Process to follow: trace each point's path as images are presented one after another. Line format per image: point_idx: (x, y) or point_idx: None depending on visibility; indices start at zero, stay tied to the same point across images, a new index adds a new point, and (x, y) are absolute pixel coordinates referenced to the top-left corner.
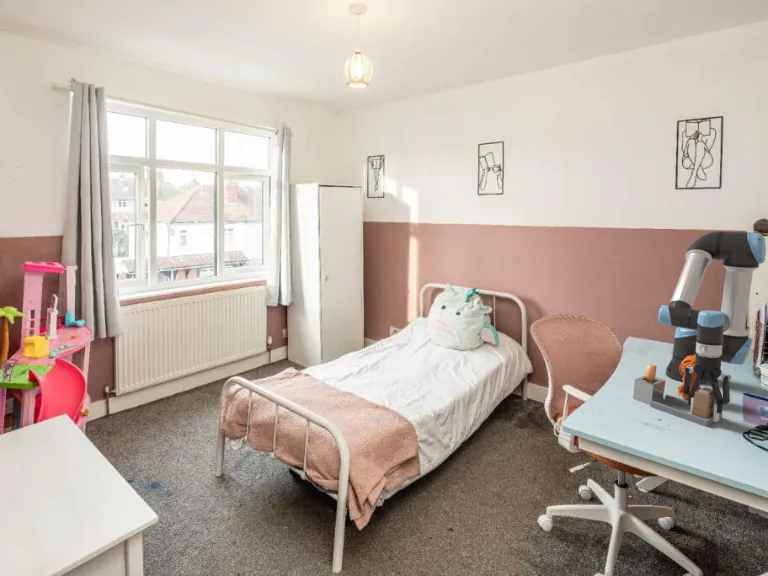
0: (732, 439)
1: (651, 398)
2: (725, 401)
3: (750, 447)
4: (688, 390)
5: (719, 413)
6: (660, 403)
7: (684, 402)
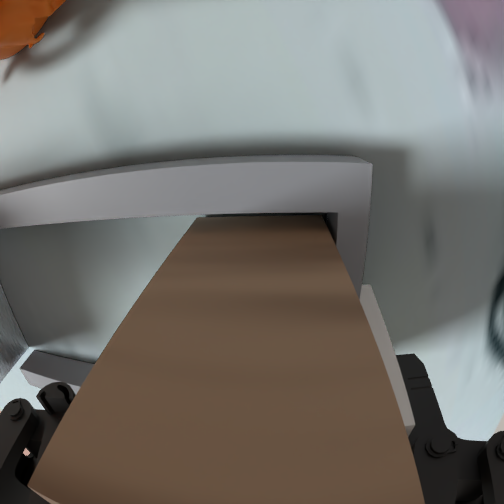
0: (445, 401)
1: (8, 370)
2: (468, 499)
3: (492, 395)
4: (30, 442)
5: (358, 219)
6: (48, 378)
7: (42, 223)
